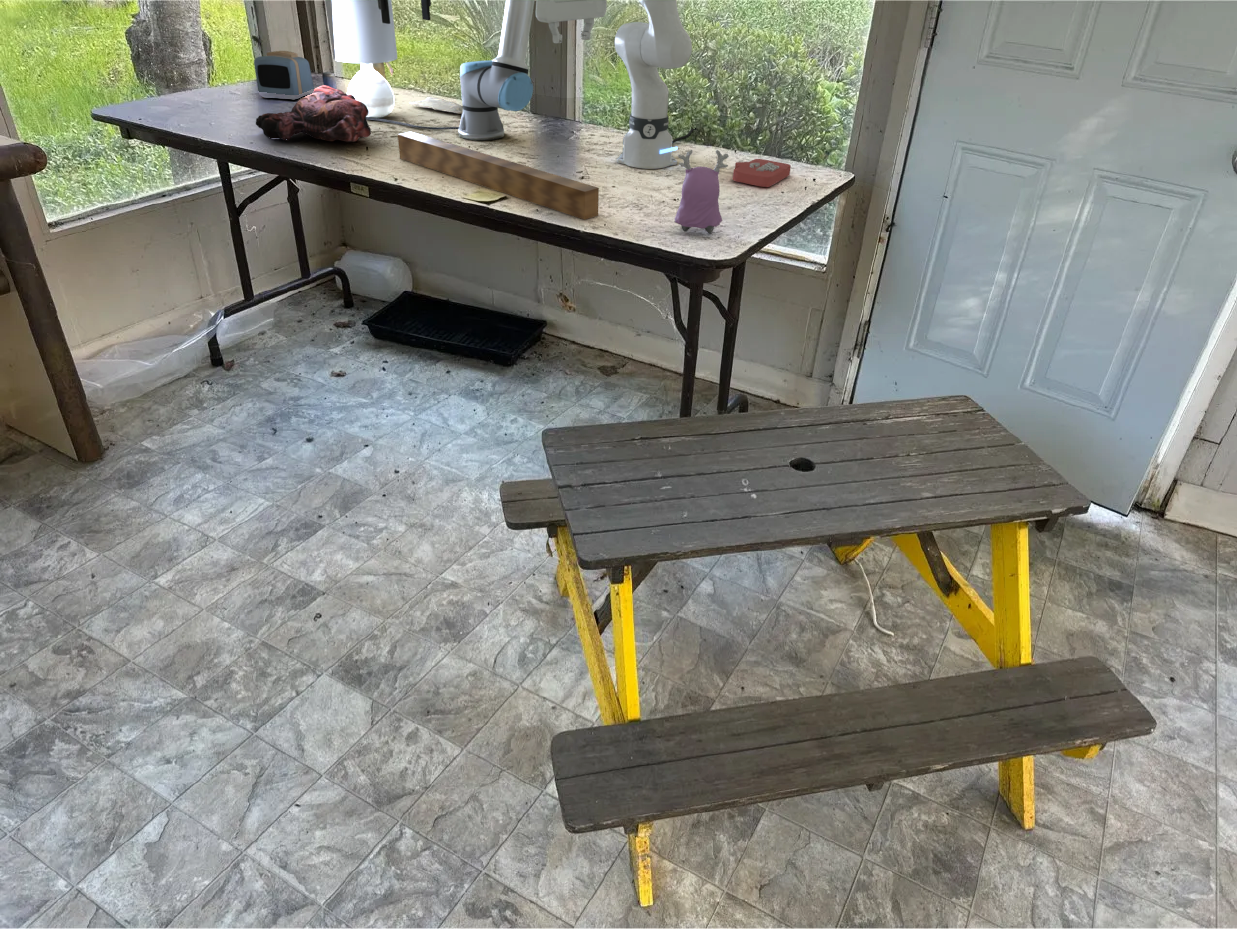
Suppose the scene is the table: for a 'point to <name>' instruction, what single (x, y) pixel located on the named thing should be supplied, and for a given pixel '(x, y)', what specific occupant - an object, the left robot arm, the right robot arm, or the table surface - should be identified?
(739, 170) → the plaque
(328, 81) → the beverage can
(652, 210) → the table surface
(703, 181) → the toy character
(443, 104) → the stone tool
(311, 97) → the raw meat chunk
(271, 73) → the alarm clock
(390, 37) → the lamp
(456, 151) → the post
